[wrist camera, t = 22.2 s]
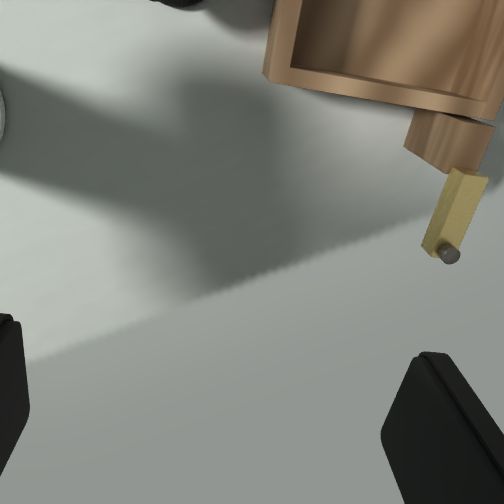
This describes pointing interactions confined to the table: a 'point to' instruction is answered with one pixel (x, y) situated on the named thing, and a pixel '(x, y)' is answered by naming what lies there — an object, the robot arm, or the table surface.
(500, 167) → the table surface
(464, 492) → the robot arm
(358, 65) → the open wooden box
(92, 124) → the table surface
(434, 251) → the yellow bar with ball
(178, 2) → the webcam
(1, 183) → the table surface
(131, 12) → the table surface
